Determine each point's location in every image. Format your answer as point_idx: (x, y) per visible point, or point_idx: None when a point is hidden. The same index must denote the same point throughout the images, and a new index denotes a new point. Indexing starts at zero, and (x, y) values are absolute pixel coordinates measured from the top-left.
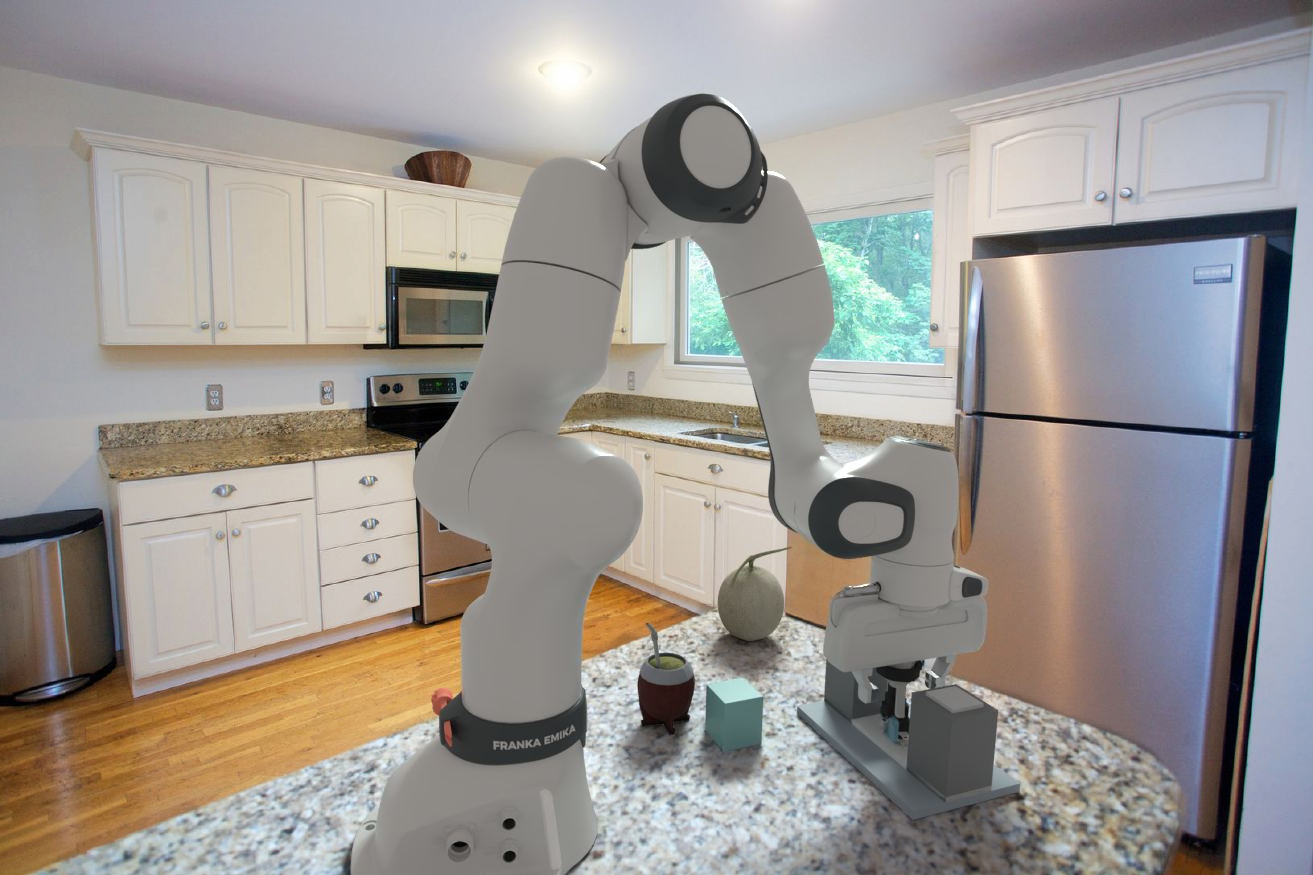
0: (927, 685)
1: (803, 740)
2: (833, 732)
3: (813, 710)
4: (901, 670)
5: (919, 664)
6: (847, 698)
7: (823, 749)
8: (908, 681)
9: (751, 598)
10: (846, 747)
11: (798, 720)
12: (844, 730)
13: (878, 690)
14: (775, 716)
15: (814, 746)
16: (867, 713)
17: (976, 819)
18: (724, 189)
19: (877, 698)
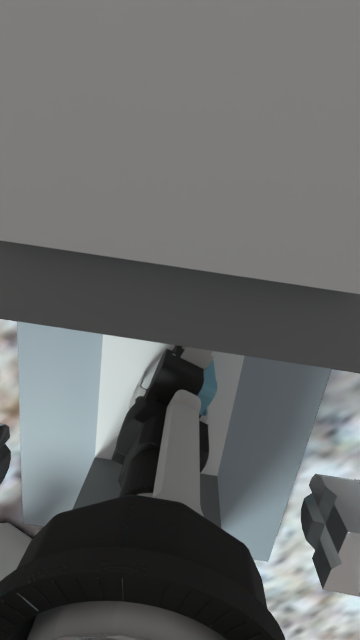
0: (5, 462)
1: (336, 473)
2: (284, 461)
3: (251, 535)
4: (227, 612)
5: (17, 606)
6: None
7: (327, 432)
8: (177, 505)
9: None
10: (311, 406)
11: (282, 525)
12: (255, 455)
13: (341, 519)
14: (313, 552)
15: (335, 448)
16: None
17: None
18: None
19: (326, 483)
